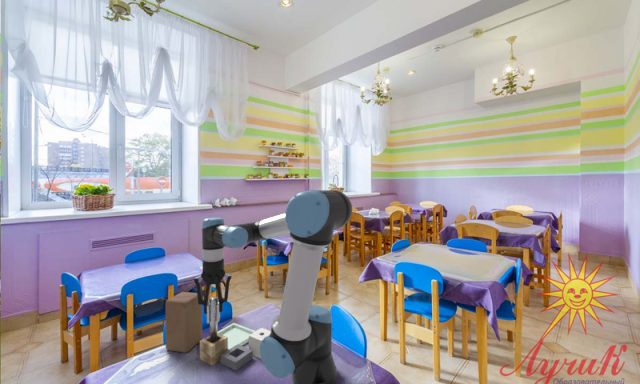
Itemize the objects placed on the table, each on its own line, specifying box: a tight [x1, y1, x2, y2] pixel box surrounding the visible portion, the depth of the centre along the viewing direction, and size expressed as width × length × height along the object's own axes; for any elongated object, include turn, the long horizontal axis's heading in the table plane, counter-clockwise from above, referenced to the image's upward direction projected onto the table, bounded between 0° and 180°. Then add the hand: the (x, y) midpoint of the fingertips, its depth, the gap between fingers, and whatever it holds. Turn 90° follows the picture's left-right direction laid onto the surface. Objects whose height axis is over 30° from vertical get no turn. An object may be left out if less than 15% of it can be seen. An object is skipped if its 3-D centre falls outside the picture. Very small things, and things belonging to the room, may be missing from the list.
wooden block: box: [165, 291, 203, 353], centre depth 109 cm, size 10×10×20 cm
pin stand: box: [220, 344, 254, 372], centre depth 99 cm, size 8×8×3 cm
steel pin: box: [208, 296, 219, 343], centre depth 101 cm, size 3×3×16 cm
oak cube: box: [199, 333, 228, 366], centre depth 101 cm, size 7×7×7 cm
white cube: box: [248, 327, 271, 360], centre depth 105 cm, size 7×7×7 cm
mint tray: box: [218, 322, 256, 350], centre depth 113 cm, size 15×15×2 cm
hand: (213, 320), depth 101 cm, fingers closed on steel pin, 3 cm apart
